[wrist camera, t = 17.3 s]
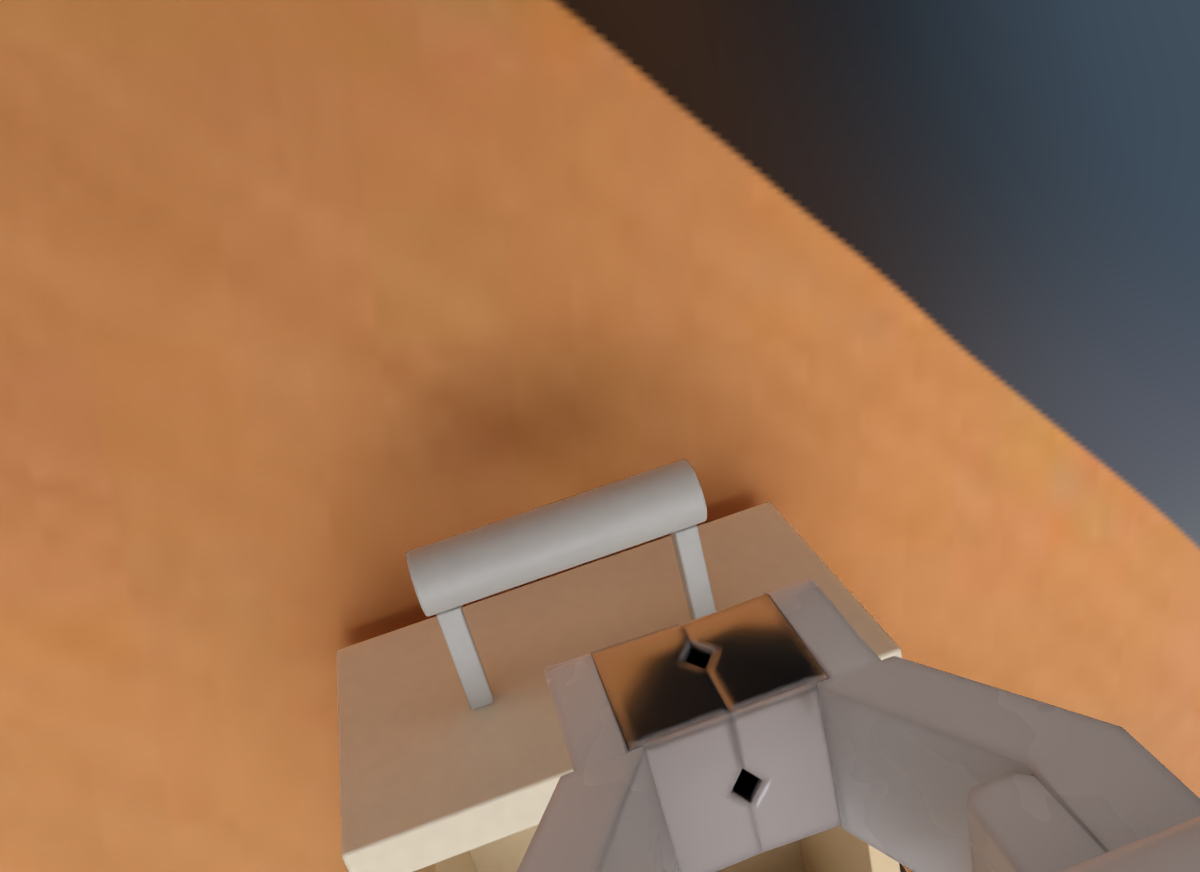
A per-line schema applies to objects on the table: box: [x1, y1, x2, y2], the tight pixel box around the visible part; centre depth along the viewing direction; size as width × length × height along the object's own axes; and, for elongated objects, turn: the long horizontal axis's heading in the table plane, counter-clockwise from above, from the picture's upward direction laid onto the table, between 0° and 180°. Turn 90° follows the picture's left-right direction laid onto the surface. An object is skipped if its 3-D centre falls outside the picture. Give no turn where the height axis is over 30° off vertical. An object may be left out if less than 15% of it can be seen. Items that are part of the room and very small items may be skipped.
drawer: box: [337, 459, 902, 872], centre depth 28 cm, size 20×13×8 cm, turn 13°
